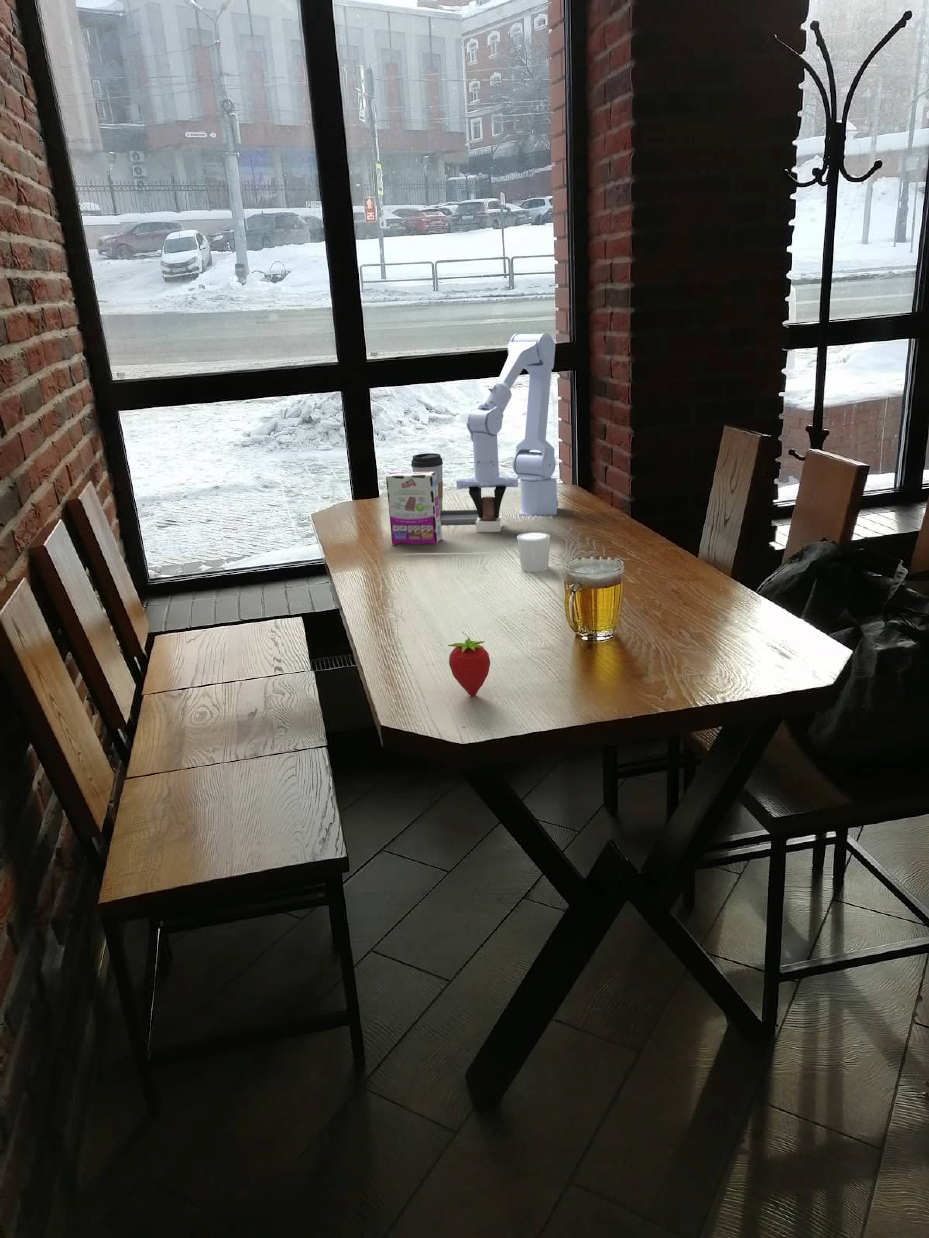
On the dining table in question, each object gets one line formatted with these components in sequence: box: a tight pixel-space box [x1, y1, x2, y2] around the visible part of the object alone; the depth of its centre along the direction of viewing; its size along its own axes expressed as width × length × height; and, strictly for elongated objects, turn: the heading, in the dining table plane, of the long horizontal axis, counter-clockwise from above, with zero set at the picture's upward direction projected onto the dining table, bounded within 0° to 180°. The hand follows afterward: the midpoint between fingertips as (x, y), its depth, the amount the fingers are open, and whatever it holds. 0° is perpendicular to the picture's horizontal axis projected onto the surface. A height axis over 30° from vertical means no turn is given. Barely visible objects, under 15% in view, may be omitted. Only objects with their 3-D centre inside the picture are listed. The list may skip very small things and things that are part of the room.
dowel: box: [481, 495, 496, 521], centre depth 224 cm, size 3×3×8 cm
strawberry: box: [447, 631, 491, 697], centre depth 134 cm, size 6×8×10 cm
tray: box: [440, 509, 478, 526], centre depth 235 cm, size 14×10×2 cm
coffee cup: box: [410, 452, 444, 511], centre depth 244 cm, size 8×8×15 cm
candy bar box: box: [385, 471, 443, 546], centre depth 215 cm, size 11×5×16 cm, turn 76°
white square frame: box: [475, 515, 504, 533], centre depth 224 cm, size 6×6×3 cm
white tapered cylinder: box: [516, 531, 551, 573], centre depth 192 cm, size 7×7×7 cm
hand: (488, 517), depth 224 cm, fingers closed on dowel, 3 cm apart
